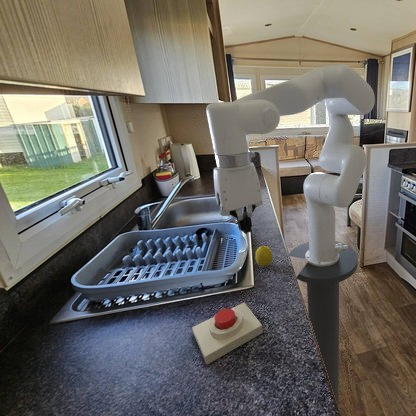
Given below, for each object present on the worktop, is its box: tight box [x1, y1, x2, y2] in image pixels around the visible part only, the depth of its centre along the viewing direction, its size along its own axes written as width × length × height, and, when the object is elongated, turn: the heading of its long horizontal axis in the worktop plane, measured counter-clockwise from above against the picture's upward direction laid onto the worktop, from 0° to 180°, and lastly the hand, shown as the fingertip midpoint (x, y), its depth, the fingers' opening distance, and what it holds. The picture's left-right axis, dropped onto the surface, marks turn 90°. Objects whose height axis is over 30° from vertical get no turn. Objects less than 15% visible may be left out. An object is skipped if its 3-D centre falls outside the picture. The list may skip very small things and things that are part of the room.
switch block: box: [191, 302, 264, 365], centre depth 61 cm, size 13×10×4 cm
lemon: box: [254, 245, 274, 268], centre depth 86 cm, size 6×6×8 cm
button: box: [214, 308, 236, 330], centre depth 60 cm, size 4×4×2 cm
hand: (246, 230), depth 67 cm, fingers closed
